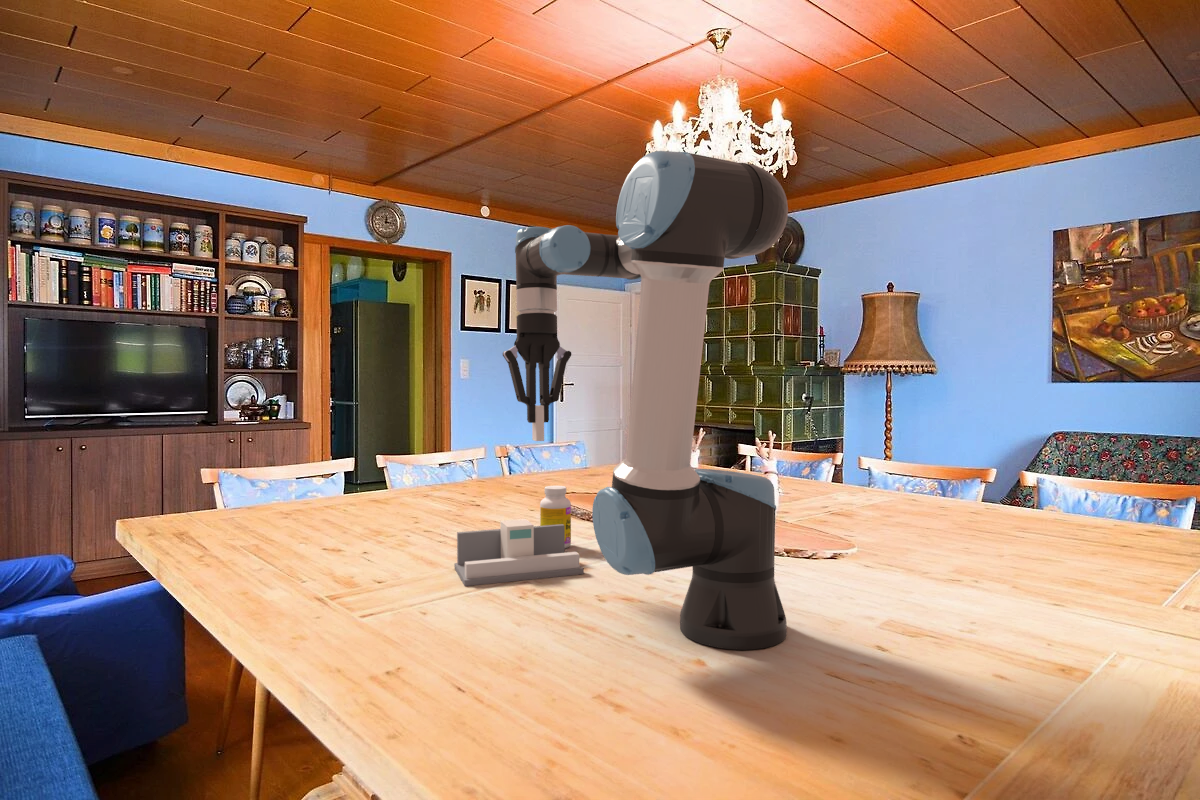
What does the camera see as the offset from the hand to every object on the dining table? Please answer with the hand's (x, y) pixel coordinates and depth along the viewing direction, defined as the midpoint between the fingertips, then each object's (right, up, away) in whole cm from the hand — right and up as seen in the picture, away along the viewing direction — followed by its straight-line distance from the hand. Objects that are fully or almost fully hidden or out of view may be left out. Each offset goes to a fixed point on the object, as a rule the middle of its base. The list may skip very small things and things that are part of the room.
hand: (538, 440), depth 133 cm
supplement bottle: (+2, -24, +21) cm, 32 cm away
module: (-4, -24, +2) cm, 24 cm away
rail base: (-4, -25, +2) cm, 25 cm away
